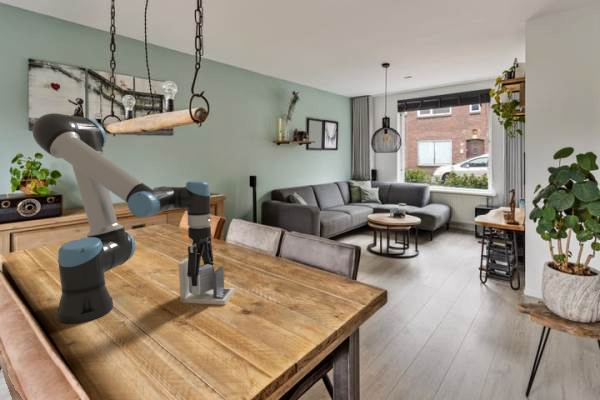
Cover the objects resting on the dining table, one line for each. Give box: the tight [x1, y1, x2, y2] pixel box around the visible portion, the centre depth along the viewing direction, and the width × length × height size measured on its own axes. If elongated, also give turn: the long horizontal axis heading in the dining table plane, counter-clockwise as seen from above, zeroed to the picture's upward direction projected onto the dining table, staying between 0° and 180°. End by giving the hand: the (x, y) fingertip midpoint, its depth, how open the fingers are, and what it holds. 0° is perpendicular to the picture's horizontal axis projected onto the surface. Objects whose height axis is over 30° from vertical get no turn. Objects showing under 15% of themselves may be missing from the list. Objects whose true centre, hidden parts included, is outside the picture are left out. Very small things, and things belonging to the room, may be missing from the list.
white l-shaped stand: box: [178, 257, 236, 306], centre depth 115 cm, size 16×10×14 cm, turn 83°
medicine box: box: [189, 263, 215, 296], centre depth 114 cm, size 8×4×9 cm, turn 141°
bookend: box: [213, 266, 230, 299], centre depth 114 cm, size 3×7×9 cm, turn 173°
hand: (202, 288), depth 114 cm, fingers closed on medicine box, 9 cm apart
